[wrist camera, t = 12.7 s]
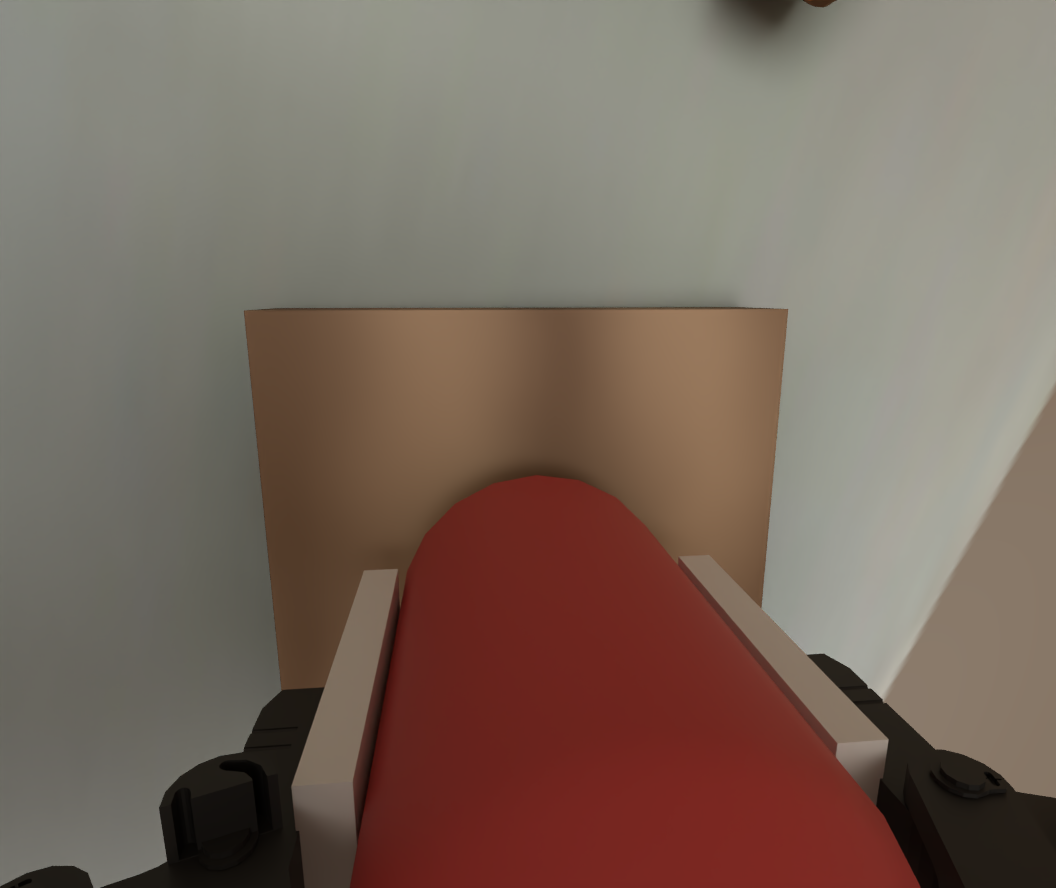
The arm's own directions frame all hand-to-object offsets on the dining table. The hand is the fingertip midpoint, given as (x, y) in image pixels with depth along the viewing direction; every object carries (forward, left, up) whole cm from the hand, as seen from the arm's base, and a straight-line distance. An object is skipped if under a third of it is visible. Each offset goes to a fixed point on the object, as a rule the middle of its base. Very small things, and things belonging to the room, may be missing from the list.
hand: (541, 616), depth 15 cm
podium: (0, 0, -6) cm, 6 cm away
